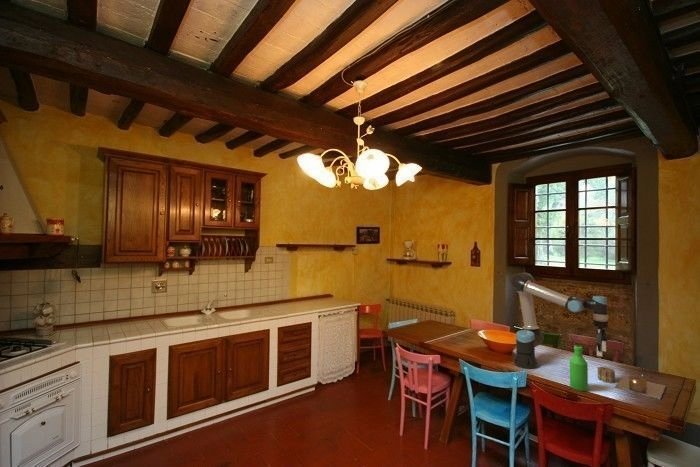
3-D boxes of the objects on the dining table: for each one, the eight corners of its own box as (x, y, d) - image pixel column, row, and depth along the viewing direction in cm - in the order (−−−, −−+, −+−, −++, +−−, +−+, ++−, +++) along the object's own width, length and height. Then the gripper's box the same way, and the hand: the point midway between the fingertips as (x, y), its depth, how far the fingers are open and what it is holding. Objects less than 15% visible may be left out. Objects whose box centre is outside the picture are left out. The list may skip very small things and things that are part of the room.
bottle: (580, 385, 202) (580, 344, 203) (591, 391, 194) (591, 348, 194) (566, 385, 202) (566, 344, 203) (576, 391, 193) (576, 348, 194)
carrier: (660, 400, 183) (659, 385, 184) (614, 387, 199) (614, 374, 199) (665, 387, 200) (665, 373, 200) (623, 376, 215) (623, 364, 215)
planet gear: (613, 384, 203) (613, 372, 204) (596, 379, 210) (596, 368, 210) (616, 380, 209) (616, 369, 209) (599, 376, 216) (599, 365, 216)
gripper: (604, 324, 202) (605, 359, 202) (611, 318, 220) (612, 350, 219) (589, 322, 208) (590, 356, 207) (597, 316, 225) (598, 347, 225)
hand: (601, 353), depth 213 cm, fingers open, 13 cm apart
